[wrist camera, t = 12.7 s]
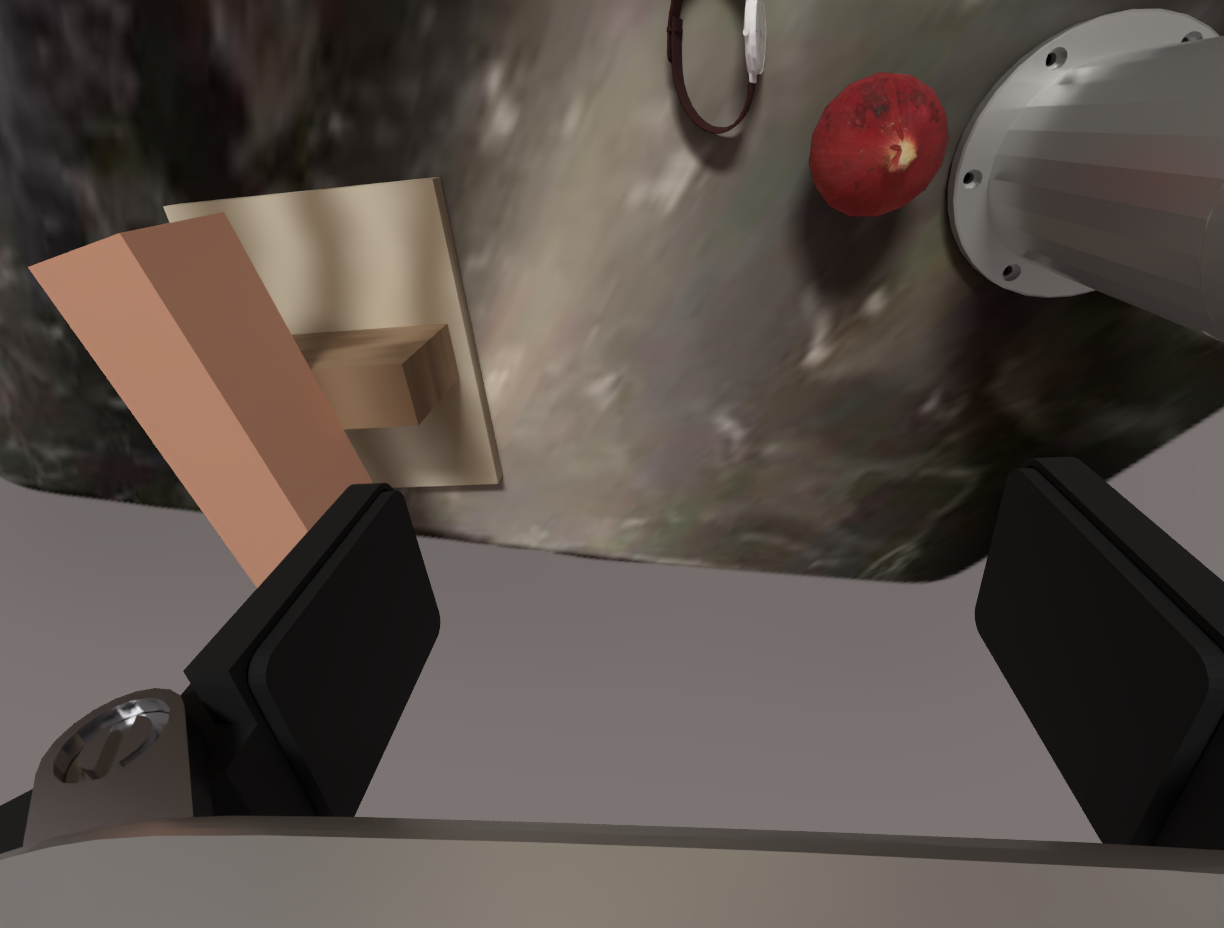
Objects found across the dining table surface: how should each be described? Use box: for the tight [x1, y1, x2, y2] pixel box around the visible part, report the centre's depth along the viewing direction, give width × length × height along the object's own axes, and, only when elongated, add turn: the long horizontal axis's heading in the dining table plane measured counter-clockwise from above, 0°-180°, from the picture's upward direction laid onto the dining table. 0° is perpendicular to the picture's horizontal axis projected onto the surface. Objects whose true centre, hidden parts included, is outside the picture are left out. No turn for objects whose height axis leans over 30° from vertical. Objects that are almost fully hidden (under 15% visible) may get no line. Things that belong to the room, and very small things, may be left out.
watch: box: [667, 0, 766, 134], centre depth 29 cm, size 8×5×4 cm, turn 7°
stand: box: [164, 177, 502, 488], centre depth 36 cm, size 16×19×8 cm
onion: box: [809, 72, 949, 217], centre depth 28 cm, size 6×6×8 cm
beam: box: [28, 212, 373, 588], centre depth 30 cm, size 4×18×6 cm, turn 17°
